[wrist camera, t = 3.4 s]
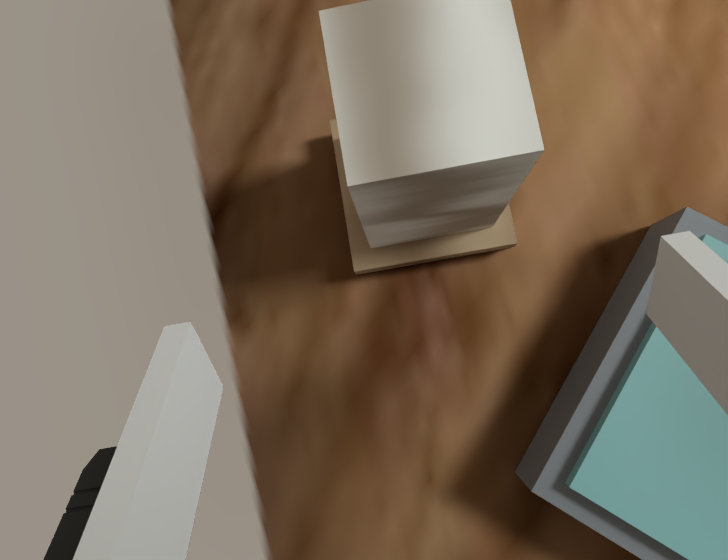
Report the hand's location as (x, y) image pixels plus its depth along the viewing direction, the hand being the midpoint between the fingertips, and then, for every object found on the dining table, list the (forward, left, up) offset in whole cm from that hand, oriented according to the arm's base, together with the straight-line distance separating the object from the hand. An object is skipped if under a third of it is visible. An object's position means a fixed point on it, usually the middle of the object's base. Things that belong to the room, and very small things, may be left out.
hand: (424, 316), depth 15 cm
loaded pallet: (-6, -4, -11) cm, 14 cm away
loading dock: (-4, +13, -11) cm, 18 cm away
